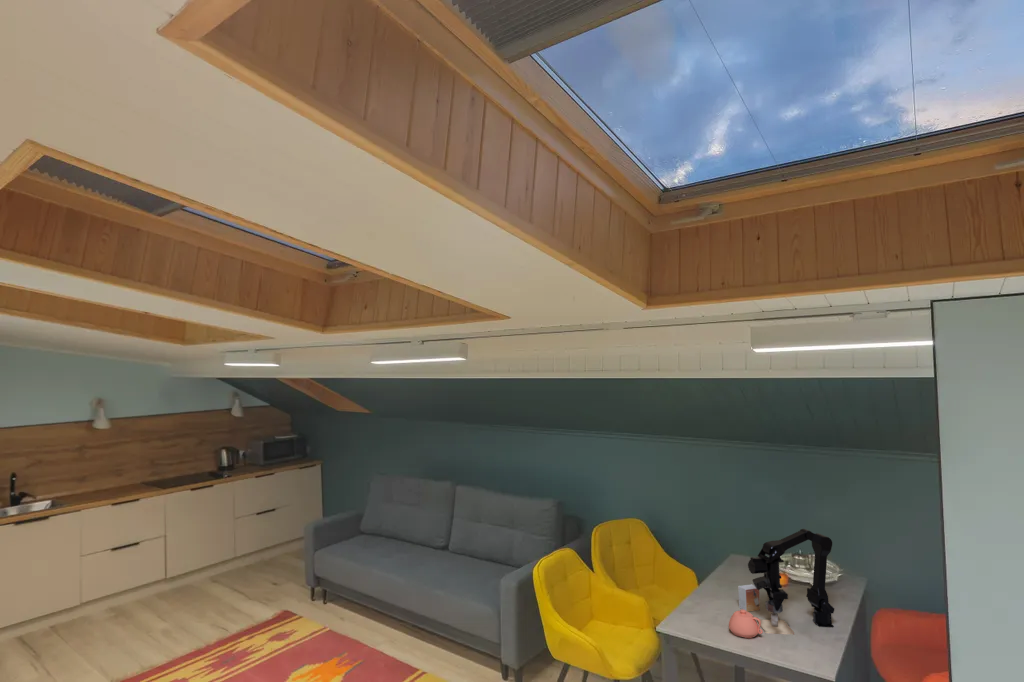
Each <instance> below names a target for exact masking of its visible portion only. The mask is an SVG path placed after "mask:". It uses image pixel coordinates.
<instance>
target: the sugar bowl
mask: <svg viewBox="0 0 1024 682" xmlns="http://www.w3.org/2000/svg"><path fill="white" fill-rule="evenodd" d="M760 619H761V618H759V617H755V616H754V615H753V614H752V613H751V612H750V611H749V612H747V611H746V610H743V609H741V608H740V610H736V611H734V612H733V613H732V615H730V618H729V621H728V629H729V630H730V631H731V633H733V635H734V636H737V637H740V638H746V639H749V640H750V639H751V638H754V637H757V635H758V634H759V635H762V634H763V633H764V631H763V629H762V628H761V627H760V626H761V621H760ZM757 620H758V621H759V624H758V623H757Z"/></svg>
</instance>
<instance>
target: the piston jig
mask: <svg viewBox="0 0 1024 682" xmlns="http://www.w3.org/2000/svg"><path fill="white" fill-rule="evenodd" d="M759 619H760V621H761V626H760V629H762V630H763V633H765V634H769V635H770V634H773V635H792V636H793V635H795V632H794V630H793V629H792V628H791V627H790V626H789V625H788V623H787V622H786V621H785V620H784V619H779V613H773V612H770V619H761V618H759ZM756 622H757V624H758V625H759V621H758V620H756Z"/></svg>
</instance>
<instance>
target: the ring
mask: <svg viewBox="0 0 1024 682" xmlns="http://www.w3.org/2000/svg"><path fill="white" fill-rule="evenodd" d="M783 608H784V606H783V603H782V604H781V606H780V608H779V610H778V611H776V610H775V606H774V601H773V600H769V599H767V600H765V609H766V611H768V612H770V613H777V614H780V613H783V612H784V611H783Z"/></svg>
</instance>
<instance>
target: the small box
mask: <svg viewBox="0 0 1024 682" xmlns="http://www.w3.org/2000/svg"><path fill="white" fill-rule="evenodd" d="M737 587H738V590H737V592H738V608H740V610H741V609H743V610H746V611H747V612H749V613H750V612H754V611H755V612H757V611H760V610H761V607H760V606H761V602H760V601H761V599H760V590H757V588H756V587H755V586H754V584H752V583H751V584H744V585H738V586H737Z"/></svg>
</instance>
